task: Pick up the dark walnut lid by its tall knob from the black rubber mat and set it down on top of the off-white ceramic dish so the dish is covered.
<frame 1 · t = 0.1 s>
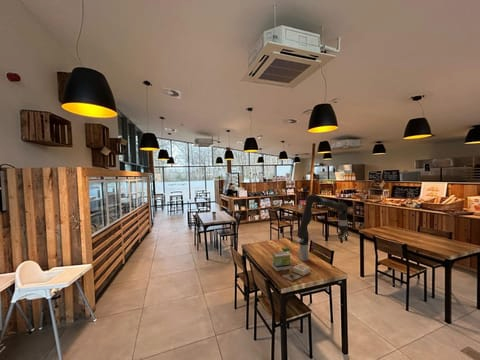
hand: (343, 241, 188), 29 cm above the table, fingers open, 8 cm apart
lid: (291, 277, 185), point 1 cm above the table, touching mat
tea box: (281, 268, 205), on the table
dish: (301, 272, 194), on the table
mat: (291, 277, 185), on the table
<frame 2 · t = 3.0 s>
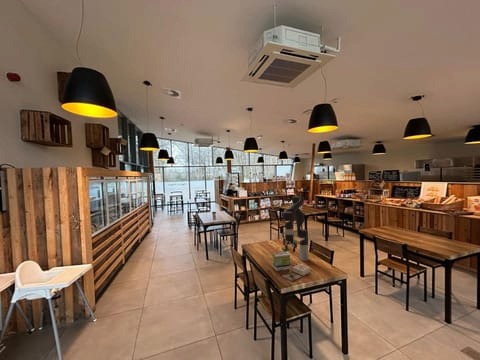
hand: (290, 250, 185), 25 cm above the table, fingers open, 8 cm apart
nothing on the table moved.
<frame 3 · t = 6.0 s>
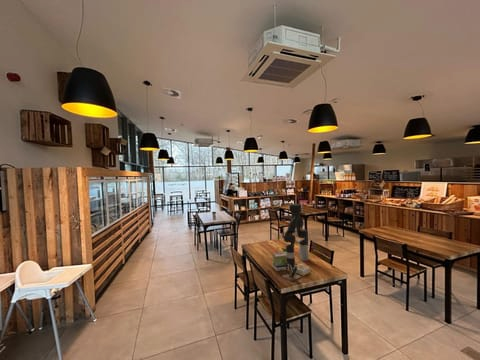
hand: (291, 275, 185), 2 cm above the table, fingers closed on lid, 3 cm apart
lid: (291, 277, 185), point 1 cm above the table, touching gripper, mat
everything else where it was.
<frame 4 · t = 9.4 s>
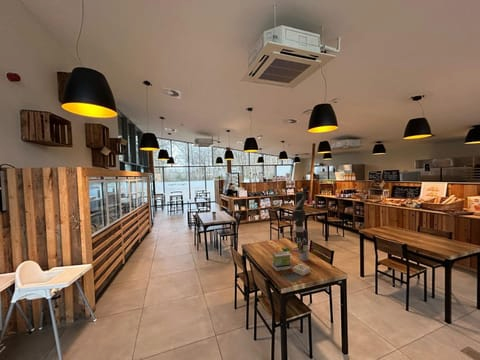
hand: (300, 248, 194), 23 cm above the table, fingers closed on lid, 3 cm apart
lid: (300, 250, 194), point 21 cm above the table, touching gripper
everything else where it was.
when the fingers open (8 cm above the table, at t = 12.7 s): lid stays where it is, resting on dish.
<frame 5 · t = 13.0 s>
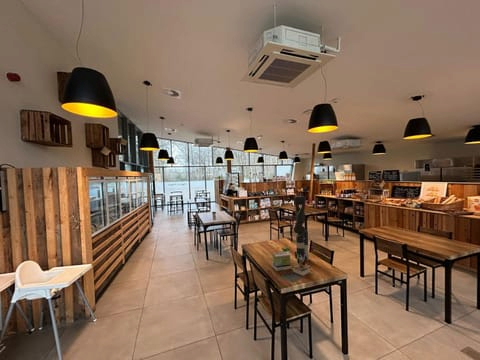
hand: (301, 264, 194), 8 cm above the table, fingers open, 5 cm apart
lid: (301, 267, 194), point 5 cm above the table, touching dish
everything else where it was.
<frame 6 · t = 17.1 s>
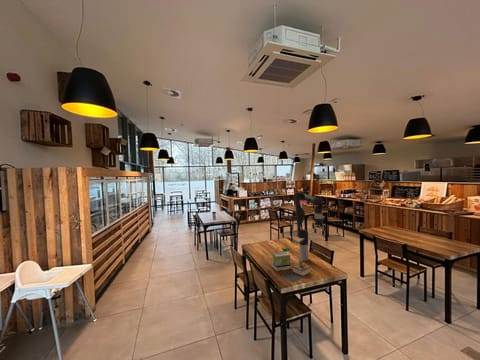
hand: (319, 233, 201), 34 cm above the table, fingers open, 8 cm apart
nothing on the table moved.
at the end: lid 0.0 cm off-centre on the dish, point 5.0 cm above the dish's base; lid tilted 0°; the gripper is holding nothing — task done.
